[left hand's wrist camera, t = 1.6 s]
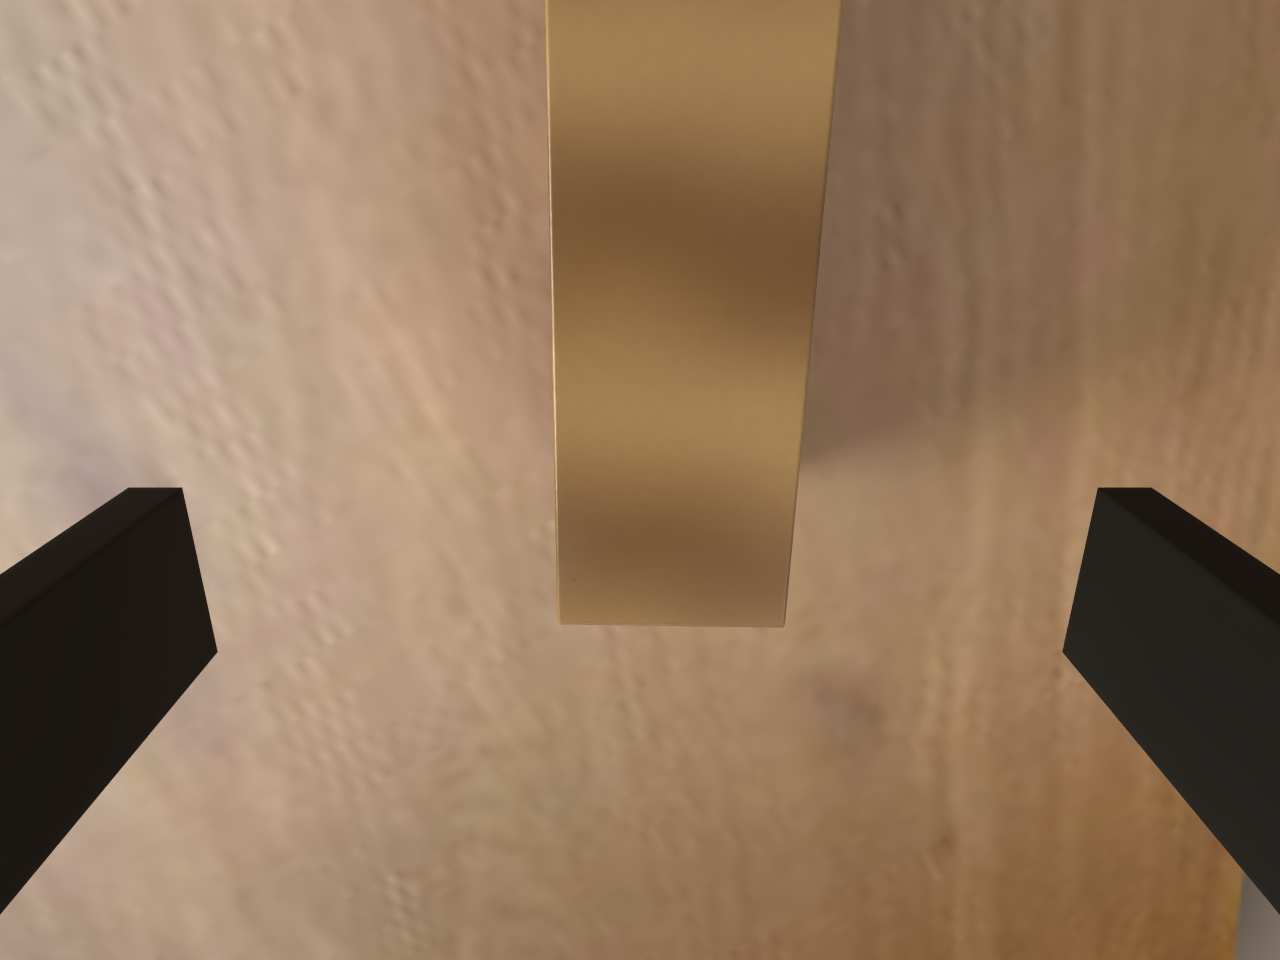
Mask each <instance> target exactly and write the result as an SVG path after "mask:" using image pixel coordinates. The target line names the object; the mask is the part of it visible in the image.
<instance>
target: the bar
mask: <svg viewBox="0 0 1280 960" xmlns="http://www.w3.org/2000/svg"><path fill="white" fill-rule="evenodd" d="M842 7H843V0H545V31H546V80H547V129H548V179H549V228H550V277H551V327H552V376H553V425H554V474H555V524H556V573H557V621H558V623H559V624H576V625H645V626H714V627H784V625H785V617H786V606H787V595H788V585H789V574H790V563H791V553H792V542H793V531H794V520H795V510H796V499H797V488H798V478H799V467H800V456H801V446H802V435H803V424H804V414H805V403H806V392H807V381H808V371H809V360H810V349H811V339H812V328H813V317H814V307H815V296H816V285H817V274H818V264H819V253H820V242H821V232H822V221H823V210H824V200H825V189H826V178H827V168H828V157H829V146H830V135H831V125H832V114H833V103H834V93H835V82H836V71H837V61H838V50H839V39H840V29H841V18H842Z"/></svg>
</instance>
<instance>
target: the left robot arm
mask: <svg viewBox="0 0 1280 960" xmlns="http://www.w3.org/2000/svg"><path fill="white" fill-rule="evenodd" d="M216 653H217V647H216V642H215V638H214V633H213V628H212V624H211V619H210V615H209V610H208V605H207V601H206V596H205V591H204V587H203V582H202V578H201V573H200V568H199V564H198V559H197V554H196V550H195V545H194V541H193V536H192V531H191V527H190V522H189V517H188V513H187V508H186V504H185V499H184V494H183V490H182V488H127V489H126V490H124V491H123V492H121V493H120V494H118V495H117V496H116V497H114V498H113V499H111V500H110V501H108V502H107V503H105V504H104V505H102V506H101V507H99V508H98V509H96V510H95V511H93V512H92V513H90V514H89V515H87V516H86V517H84V518H83V519H82V520H80V521H79V522H77V523H76V524H74V525H73V526H71V527H70V528H68V529H67V530H65V531H64V532H62V533H61V534H59V535H58V536H56V537H55V538H53V539H52V540H50V541H49V542H48V543H46V544H45V545H43V546H42V547H40V548H39V549H37V550H36V551H34V552H33V553H31V554H30V555H28V556H27V557H25V558H24V559H22V560H21V561H19V562H18V563H16V564H15V565H14V566H12V567H11V568H9V569H8V570H6V571H5V572H3V573H2V574H0V914H1V913H2V912H3V910H4V909H5V908H6V907H7V906H8V904H9V903H10V902H11V901H12V900H13V898H14V897H15V896H16V895H17V894H18V892H19V891H20V890H21V889H22V888H23V886H24V885H25V884H26V883H27V881H28V880H29V879H30V878H31V877H32V875H33V874H34V873H35V872H36V871H37V869H38V868H39V867H40V866H41V865H42V863H43V862H44V861H45V860H46V859H47V857H48V856H49V855H50V854H51V852H52V851H53V850H54V849H55V848H56V846H57V845H58V844H59V843H60V842H61V840H62V839H63V838H64V837H65V836H66V834H67V833H68V832H69V831H70V830H71V828H72V827H73V826H74V825H75V824H76V822H77V821H78V820H79V819H80V817H81V816H82V815H83V814H84V813H85V811H86V810H87V809H88V808H89V807H90V805H91V804H92V803H93V802H94V801H95V799H96V798H97V797H98V796H99V795H100V793H101V792H102V791H103V790H104V788H105V787H106V786H107V785H108V784H109V782H110V781H111V780H112V779H113V778H114V776H115V775H116V774H117V773H118V772H119V770H120V769H121V768H122V767H123V766H124V764H125V763H126V762H127V761H128V759H129V758H130V757H131V756H132V755H133V753H134V752H135V751H136V750H137V749H138V747H139V746H140V745H141V744H142V743H143V741H144V740H145V739H146V738H147V737H148V735H149V734H150V733H151V732H152V730H153V729H154V728H155V727H156V726H157V724H158V723H159V722H160V721H161V720H162V718H163V717H164V716H165V715H166V714H167V712H168V711H169V710H170V709H171V708H172V706H173V705H174V704H175V703H176V702H177V700H178V699H179V698H180V697H181V695H182V694H183V693H184V692H185V691H186V689H187V688H188V687H189V686H190V685H191V683H192V682H193V681H194V680H195V679H196V677H197V676H198V675H199V674H200V673H201V671H202V670H203V669H204V668H205V666H206V665H207V664H208V663H209V662H210V660H211V659H212V658H213V657H214V656H215V654H216ZM1063 653H1064V654H1065V656H1066V657H1067V658H1068V659H1069V660H1070V662H1071V663H1072V664H1073V665H1074V666H1075V668H1076V669H1077V670H1078V671H1079V673H1080V674H1081V675H1082V676H1083V677H1084V679H1085V680H1086V681H1087V682H1088V683H1089V685H1090V686H1091V687H1092V688H1093V689H1094V691H1095V692H1096V693H1097V694H1098V695H1099V697H1100V698H1101V699H1102V700H1103V702H1104V703H1105V704H1106V705H1107V706H1108V708H1109V709H1110V710H1111V711H1112V712H1113V714H1114V715H1115V716H1116V717H1117V718H1118V720H1119V721H1120V722H1121V723H1122V724H1123V726H1124V727H1125V728H1126V729H1127V730H1128V732H1129V733H1130V734H1131V735H1132V737H1133V738H1134V739H1135V740H1136V741H1137V743H1138V744H1139V745H1140V746H1141V747H1142V749H1143V750H1144V751H1145V752H1146V753H1147V755H1148V756H1149V757H1150V758H1151V759H1152V761H1153V762H1154V763H1155V764H1156V766H1157V767H1158V768H1159V769H1160V770H1161V772H1162V773H1163V774H1164V775H1165V776H1166V778H1167V779H1168V780H1169V781H1170V782H1171V784H1172V785H1173V786H1174V787H1175V788H1176V790H1177V791H1178V792H1179V793H1180V795H1181V796H1182V797H1183V798H1184V799H1185V801H1186V802H1187V803H1188V804H1189V805H1190V807H1191V808H1192V809H1193V810H1194V811H1195V813H1196V814H1197V815H1198V816H1199V817H1200V819H1201V820H1202V821H1203V822H1204V823H1205V825H1206V826H1207V827H1208V828H1209V830H1210V831H1211V832H1212V833H1213V834H1214V836H1215V837H1216V838H1217V839H1218V840H1219V842H1220V843H1221V844H1222V845H1223V846H1224V848H1225V849H1226V850H1227V851H1228V852H1229V854H1230V855H1231V856H1232V857H1233V859H1234V860H1235V861H1236V862H1237V863H1238V865H1239V866H1240V867H1241V868H1242V869H1243V871H1244V872H1245V873H1246V874H1247V875H1248V877H1249V878H1250V879H1251V880H1252V881H1253V883H1254V884H1255V885H1256V886H1257V887H1258V889H1259V890H1260V891H1261V892H1262V894H1263V895H1264V896H1265V897H1266V898H1267V900H1268V901H1269V902H1270V903H1271V904H1272V906H1273V907H1274V908H1275V909H1276V910H1277V912H1278V913H1279V914H1280V574H1278V573H1277V572H1275V571H1274V570H1272V569H1271V568H1269V567H1268V566H1266V565H1265V564H1264V563H1262V562H1261V561H1259V560H1258V559H1256V558H1255V557H1253V556H1252V555H1250V554H1249V553H1247V552H1246V551H1244V550H1243V549H1241V548H1240V547H1238V546H1237V545H1235V544H1234V543H1232V542H1231V541H1230V540H1228V539H1227V538H1225V537H1224V536H1222V535H1221V534H1219V533H1218V532H1216V531H1215V530H1213V529H1212V528H1210V527H1209V526H1207V525H1206V524H1204V523H1203V522H1201V521H1200V520H1198V519H1197V518H1196V517H1194V516H1193V515H1191V514H1190V513H1188V512H1187V511H1185V510H1184V509H1182V508H1181V507H1179V506H1178V505H1176V504H1175V503H1173V502H1172V501H1170V500H1169V499H1167V498H1166V497H1164V496H1163V495H1162V494H1160V493H1159V492H1157V491H1156V490H1154V489H1153V488H1098V490H1097V494H1096V499H1095V504H1094V508H1093V513H1092V517H1091V522H1090V527H1089V531H1088V536H1087V541H1086V545H1085V550H1084V554H1083V559H1082V564H1081V568H1080V573H1079V578H1078V582H1077V587H1076V591H1075V596H1074V601H1073V605H1072V610H1071V615H1070V619H1069V624H1068V628H1067V633H1066V638H1065V642H1064V647H1063Z"/></svg>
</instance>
